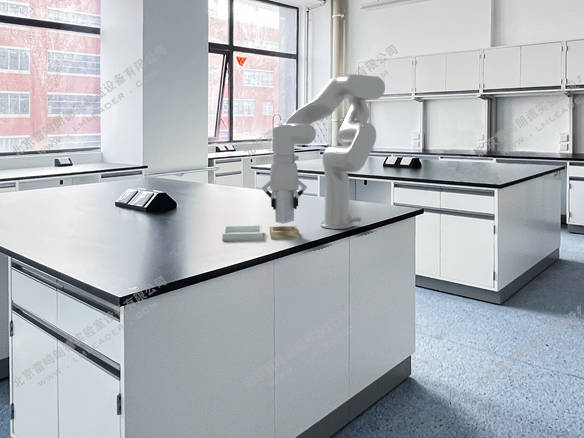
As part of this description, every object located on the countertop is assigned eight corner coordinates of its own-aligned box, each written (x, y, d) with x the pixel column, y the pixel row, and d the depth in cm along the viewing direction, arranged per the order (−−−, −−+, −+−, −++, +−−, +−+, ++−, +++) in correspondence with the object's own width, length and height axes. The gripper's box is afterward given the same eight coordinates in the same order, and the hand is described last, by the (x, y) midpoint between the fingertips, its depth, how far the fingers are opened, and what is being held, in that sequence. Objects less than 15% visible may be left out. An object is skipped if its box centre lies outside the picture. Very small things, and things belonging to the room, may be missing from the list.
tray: (261, 231, 200) (261, 225, 199) (262, 240, 186) (262, 233, 186) (224, 232, 198) (223, 226, 198) (222, 241, 185) (222, 234, 184)
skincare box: (285, 219, 197) (285, 187, 194) (294, 221, 194) (294, 188, 192) (274, 222, 192) (274, 189, 190) (283, 223, 189) (283, 190, 187)
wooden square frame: (296, 232, 199) (296, 225, 198) (299, 238, 189) (299, 231, 189) (269, 232, 198) (269, 226, 198) (271, 238, 188) (270, 231, 188)
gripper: (306, 158, 193) (307, 206, 196) (259, 159, 191) (260, 207, 195) (309, 160, 186) (309, 210, 189) (259, 161, 184) (261, 211, 188)
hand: (284, 208), depth 192 cm, fingers closed on skincare box, 7 cm apart
